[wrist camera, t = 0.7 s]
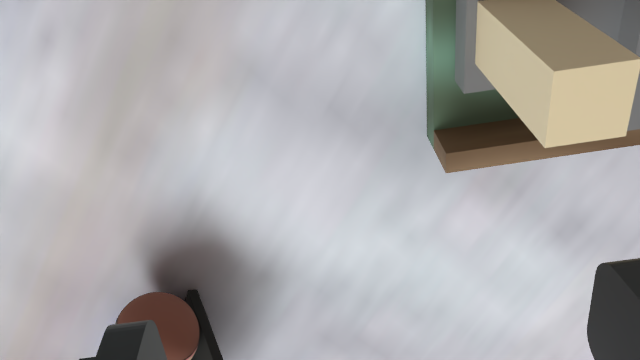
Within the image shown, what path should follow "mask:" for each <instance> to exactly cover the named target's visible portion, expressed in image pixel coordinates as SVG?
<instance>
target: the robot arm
mask: <svg viewBox="0 0 640 360" xmlns="http://www.w3.org/2000/svg"><path fill="white" fill-rule="evenodd" d="M587 336H588V342H589V346H590V349H591V352H592V355H593V357H594V359H595V360H640V258H638V259H630V260H622V261H615V262H607V263H602V264H600V265H599V266H598V267H597V270H596V274H595V280H594V286H593V293H592V299H591V305H590V312H589V318H588V325H587ZM79 360H167V357H166V354H165V350H164V347H163V344H162V341H161V338H160V335H159V332H158V329H157V326H156V324H155V322H154V321H153V320H145V321H138V322H130V323H122V324H114V325H110V326H108V327H107V329H106V330H105V333H104V335H103V338H102V341H101V344H100V346H99V349H98V352H97V355H96V357H91V358H83V359H79Z"/></svg>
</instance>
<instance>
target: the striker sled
mask: <svg viewBox="0 0 640 360" xmlns="http://www.w3.org/2000/svg"><path fill="white" fill-rule="evenodd" d="M455 82H456V83H457V85H458V86H459V87H460V89H461V90H462V92H463V93H464V94H466V93H473V92H480V91H487V90H494V89H496V90H497V91H498V92H499V93H500V95H501V96H502V97H503V98H504V99H505V101H506V102H507V103H508V104H509V105H510V107H511V108H512V109H513V110H514V112H515V113H516V114H517V115H518V116H519V118H520V119H521V120H522V121H523V122H524V124H525V125H526V126H527V127H528V129H529V130H530V131H531V132H532V133H533V135H534V136H535V137H536V138H537V139H538V141H539V142H540V143H541V144H542V145H543V147H544V148H549V147H556V146H563V145H570V144H577V143H583V142H590V141H597V140H604V139H611V138H618V137H624V136H626V133H627V131H630V130H637V129H640V0H456V37H455Z"/></svg>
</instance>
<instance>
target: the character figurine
mask: <svg viewBox="0 0 640 360" xmlns="http://www.w3.org/2000/svg"><path fill="white" fill-rule="evenodd" d="M145 320H153V321H154V322H155V324H156V326H157V329H158V332H159V335H160V338H161V341H162V344H163V347H164V350H165V354H166V357H167V360H223V358H222V355H221V353H220V350H219V347H218V345H217V342H216V339H215V337H214V334H213V331H212V329H211V326H210V323H209V321H208V318H207V315H206V313H205V310H204V307H203V305H202V302H201V299H200V297H199V294H198V291H197V290H190V291H188V293H187V297H186V300H185V301H184V300H182V299H181V298H179V297H177V296H175V295H172V294H169V293H164V292H153V293H148V294H144V295H142V296H139V297H137V298H136V299H134V300H133V301H131V302H130V303H129V304H128V305H127V306H126V307H125V308H124V309H123V310H122V311H121V313H120V314H119V316H118V318H117V320H116V323H115V324H122V323H130V322H138V321H145Z"/></svg>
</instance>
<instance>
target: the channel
mask: <svg viewBox="0 0 640 360" xmlns="http://www.w3.org/2000/svg"><path fill="white" fill-rule="evenodd" d="M455 37H456V0H426V75H427V137H428V139H429V141H430V143H431V145H432V147H433V149H434V151H435V153H436V154H437V156H438V158H439V160H440V162H441V164H442V166H443V168H444V170H445V172H446V173H450V172H457V171H464V170H471V169H478V168H484V167H491V166H498V165H505V164H512V163H518V162H525V161H532V160H539V159H546V158H552V157H559V156H566V155H573V154H580V153H586V152H593V151H600V150H607V149H614V148H620V147H627V146H634V145H640V129H637V130H630V131H627V133H626V136H624V137H618V138H611V139H604V140H597V141H590V142H583V143H577V144H570V145H563V146H556V147H549V148H544V147H543V145H542V144H541V143H540V142H539V141H538V139H537V138H536V137H535V136H534V135H533V133H532V132H531V131H530V130H529V129H528V127H527V126H526V125H525V124H524V122H523V121H522V120H521V119H520V118H519V116H518V115H517V114H516V113H515V112H514V110H513V109H512V108H511V107H510V105H509V104H508V103H507V102H506V101H505V99H504V98H503V97H502V96H501V95H500V93H499V92H498V91H497V90H496V89H494V90H487V91H480V92H473V93H466V94H464V93H463V92H462V90H461V89H460V87H459V86H458V85H457V83H456V82H455Z"/></svg>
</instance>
